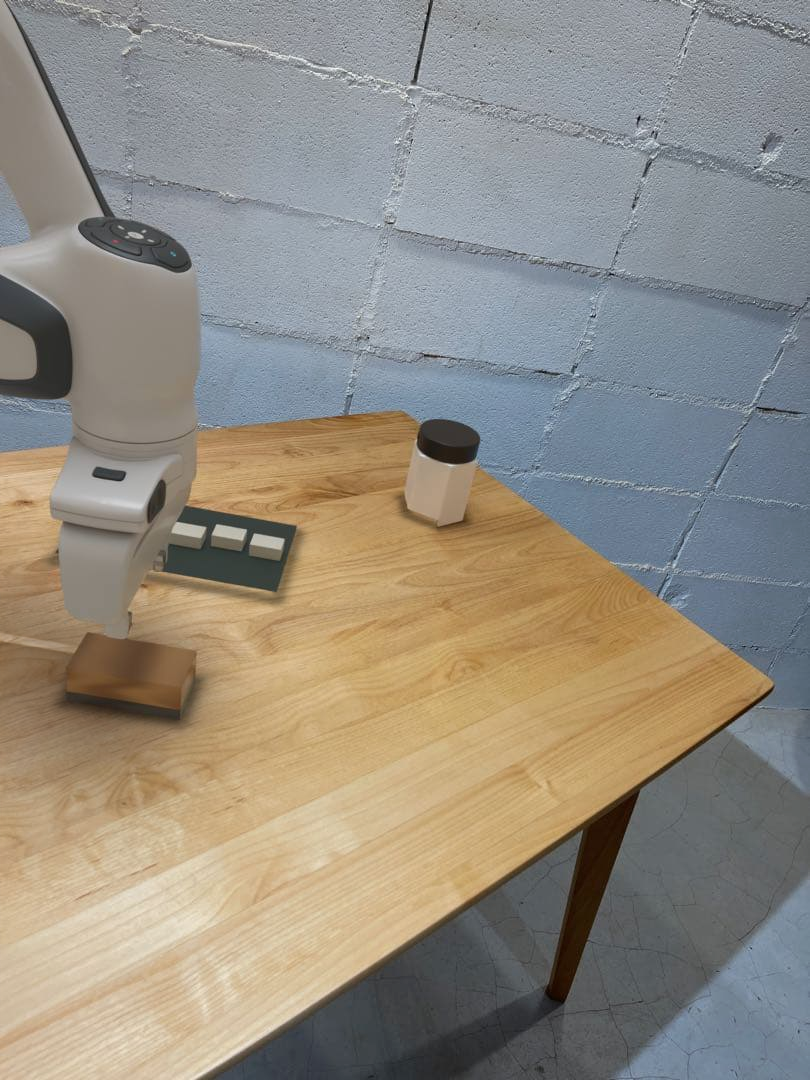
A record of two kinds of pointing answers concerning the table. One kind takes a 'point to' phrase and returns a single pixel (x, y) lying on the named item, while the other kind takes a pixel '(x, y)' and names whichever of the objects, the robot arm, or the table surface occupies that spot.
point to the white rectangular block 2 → (228, 537)
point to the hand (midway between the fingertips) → (137, 597)
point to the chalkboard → (229, 551)
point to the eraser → (131, 676)
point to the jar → (442, 470)
